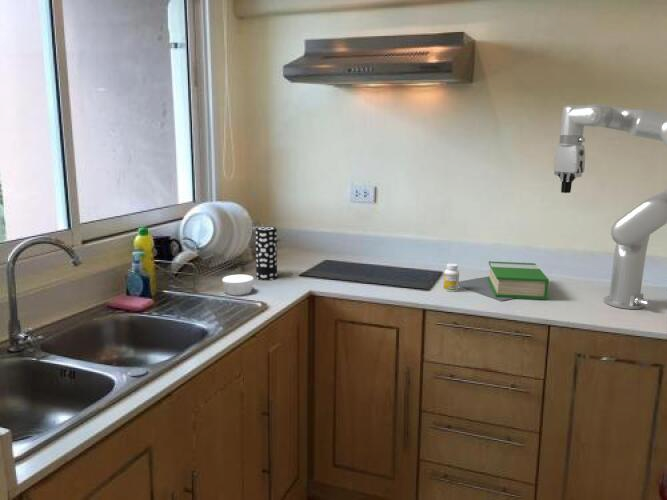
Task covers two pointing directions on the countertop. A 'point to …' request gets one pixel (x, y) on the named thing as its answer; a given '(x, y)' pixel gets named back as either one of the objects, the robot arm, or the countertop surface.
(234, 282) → the ramekin
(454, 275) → the supplement bottle
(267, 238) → the spotted tube
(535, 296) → the hardback book
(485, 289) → the mat
